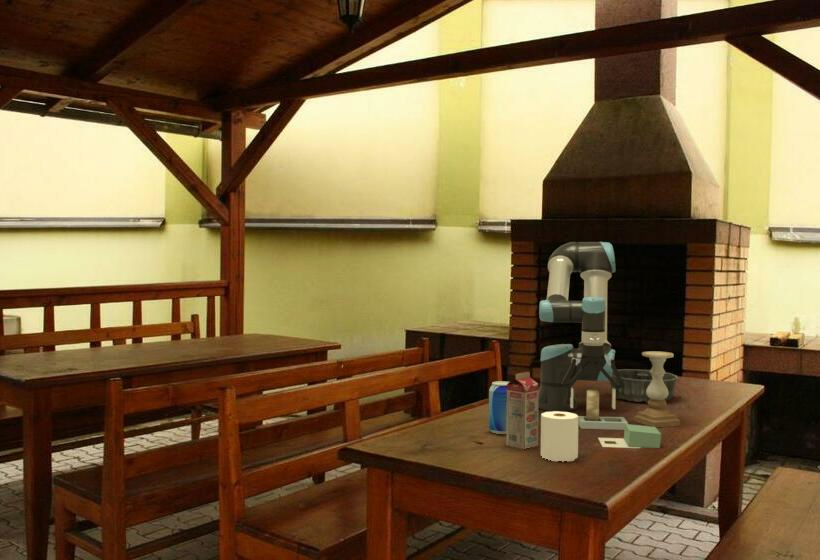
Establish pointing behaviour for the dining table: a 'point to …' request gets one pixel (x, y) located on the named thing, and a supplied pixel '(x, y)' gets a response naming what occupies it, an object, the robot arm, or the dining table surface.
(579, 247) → the robot arm
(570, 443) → the toilet paper
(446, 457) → the dining table surface
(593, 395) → the peg
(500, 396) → the beer can
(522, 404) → the juice carton
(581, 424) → the grey double window frame
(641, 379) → the bundt pan
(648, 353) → the candle holder
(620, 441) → the mat
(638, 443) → the cover
